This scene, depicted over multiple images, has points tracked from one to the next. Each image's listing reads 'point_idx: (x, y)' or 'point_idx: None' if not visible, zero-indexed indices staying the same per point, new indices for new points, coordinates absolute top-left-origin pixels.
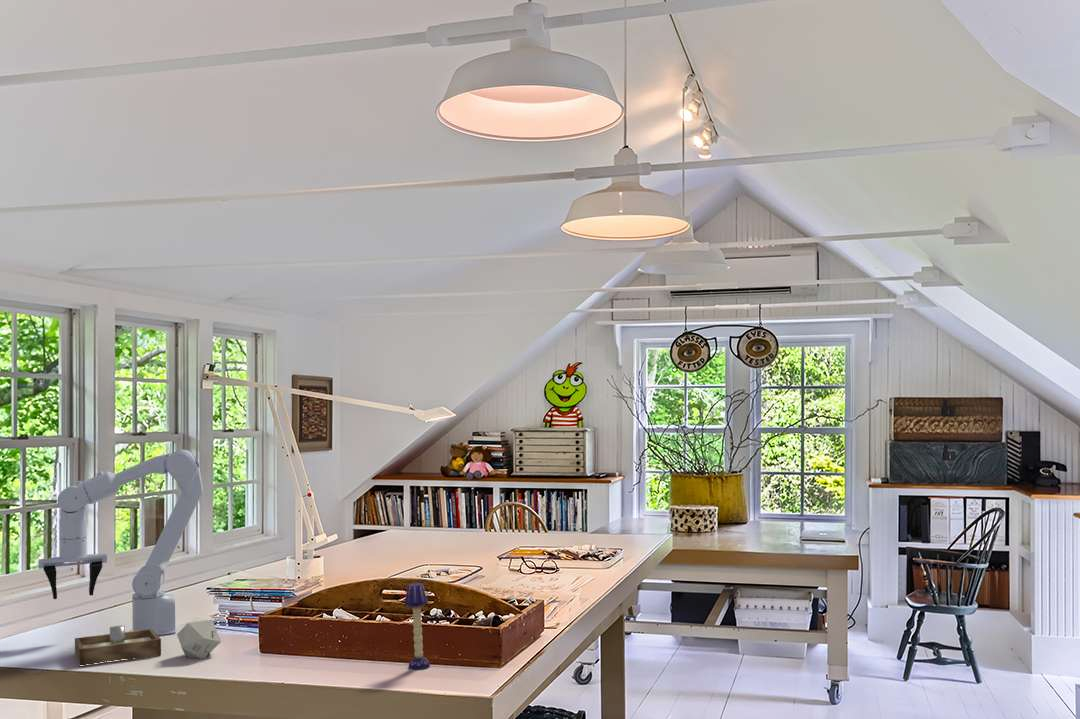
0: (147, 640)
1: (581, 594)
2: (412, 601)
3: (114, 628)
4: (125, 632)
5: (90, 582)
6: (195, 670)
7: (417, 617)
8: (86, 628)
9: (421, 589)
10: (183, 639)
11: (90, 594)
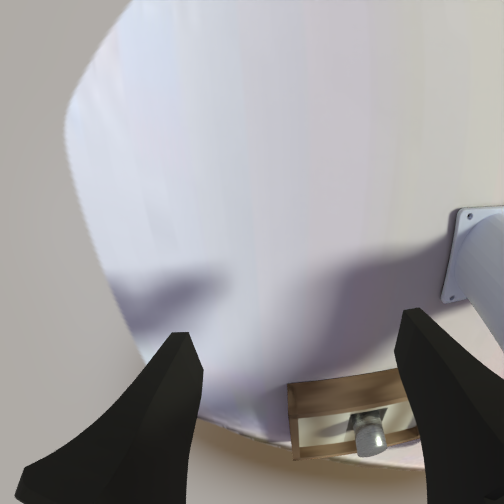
0: (403, 441)
1: None
2: None
3: (364, 456)
4: (402, 399)
5: (426, 406)
6: (409, 454)
7: None
8: (329, 27)
9: None
10: None
11: (397, 356)
